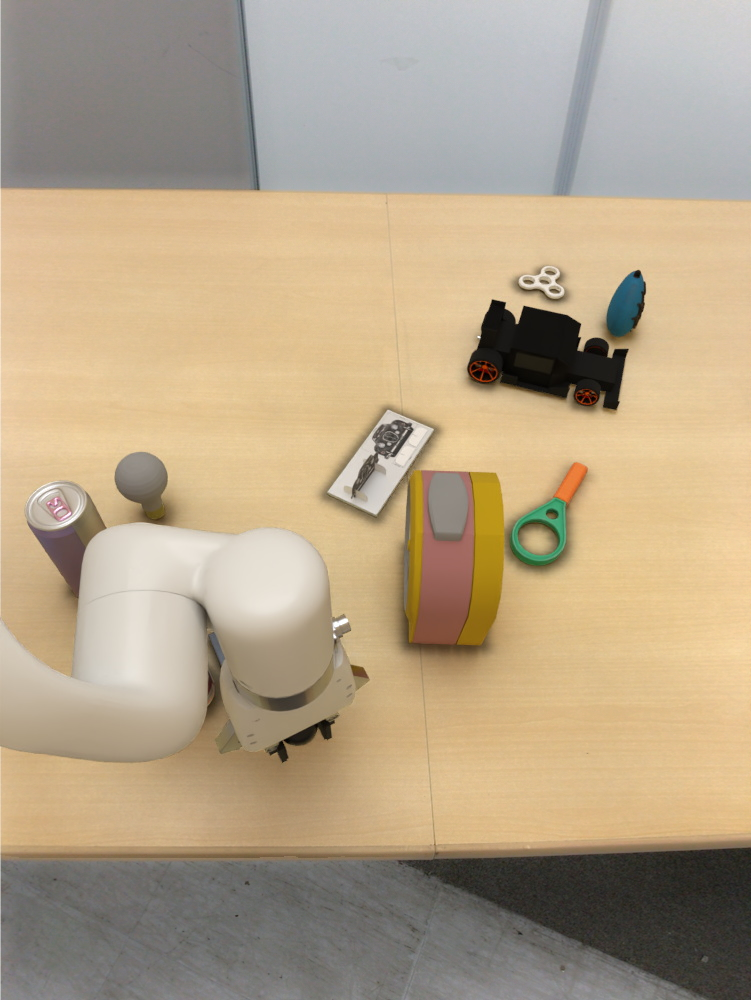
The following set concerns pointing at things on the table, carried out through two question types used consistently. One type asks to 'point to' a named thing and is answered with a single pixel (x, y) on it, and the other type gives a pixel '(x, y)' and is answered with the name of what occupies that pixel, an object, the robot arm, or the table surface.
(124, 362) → the table surface
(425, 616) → the alarm clock
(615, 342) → the table surface
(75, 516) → the beverage can
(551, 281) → the fidget spinner
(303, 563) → the robot arm
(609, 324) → the ornament
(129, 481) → the light bulb
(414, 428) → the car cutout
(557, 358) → the toy race car
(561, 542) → the magnifying glass
